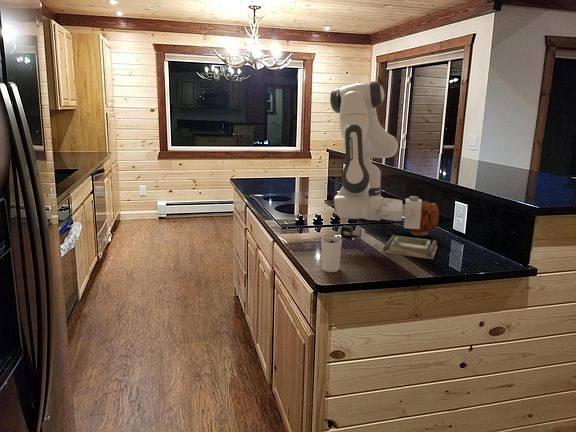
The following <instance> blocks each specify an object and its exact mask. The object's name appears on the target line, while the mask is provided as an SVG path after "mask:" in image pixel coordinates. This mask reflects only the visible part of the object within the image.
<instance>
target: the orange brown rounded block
mask: <svg viewBox="0 0 576 432" xmlns="http://www.w3.org/2000/svg"><path fill="white" fill-rule="evenodd" d="M421 200H422V206H421V218H420V229H409V230H410V234H411V235H412V236H414V237H425V236H428V235H429V231H431V230H434V229H435V228H436V227H437V226H438V224H439V219H440V210H439V208H438V205H437V204H436V202H429V201H427V200H423V199H421ZM429 218H430V219H429Z"/></svg>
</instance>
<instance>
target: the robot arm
mask: <svg viewBox="0 0 576 432" xmlns="http://www.w3.org/2000/svg"><path fill="white" fill-rule="evenodd" d="M384 99H385V90H384V88H383V86H382V84H381V83H380V82H379V81H369V82H356V83H352V84H349V85H345V86H341V87H340V86H339V87H336V88H333V89H332V91H331V92H330V97H329V103H330V106H331V109H332V110H333V112H335V113H337V114H339V125H340V127H339V128H340V132H341V136H342V138H343V140H344V141H343V148H344V151H345V165H344V167H343V170H342V172H341V176H340V182H341V184H342V186H341V187H340V189H339V191H338V192H337V194H336V195H335V196H334V197H333V209H334V212H335V215H336V216H338V217H341V218H345V219H351V220H353V219H354V220H358V219H362V220H363V219H364V220H366V221H367V220H368V221H381V220H386V221H392V222H393V221H395V222H400V221H402V220H403V217H404V216H415V215H416V211H415V210H405V204H403V200H402V199H397V198H389V197H383V195H381V193H382V189H381V170H380V168H379V166H377V165H375V164H373V163H372V161H371V158H374V159H375V158H377V159H387V158H393V157H394V156H395V155H396V154H397V151H398V148H399V143H398V140H397V139H396V137H395V135H392V134H390V133H389V132H387V131H386V130H385V128H384V127H383V126H382V125H381V123H380V121H379V118H378V113H377V108H378V107H381V106H382V104H383V103H384Z"/></svg>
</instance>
